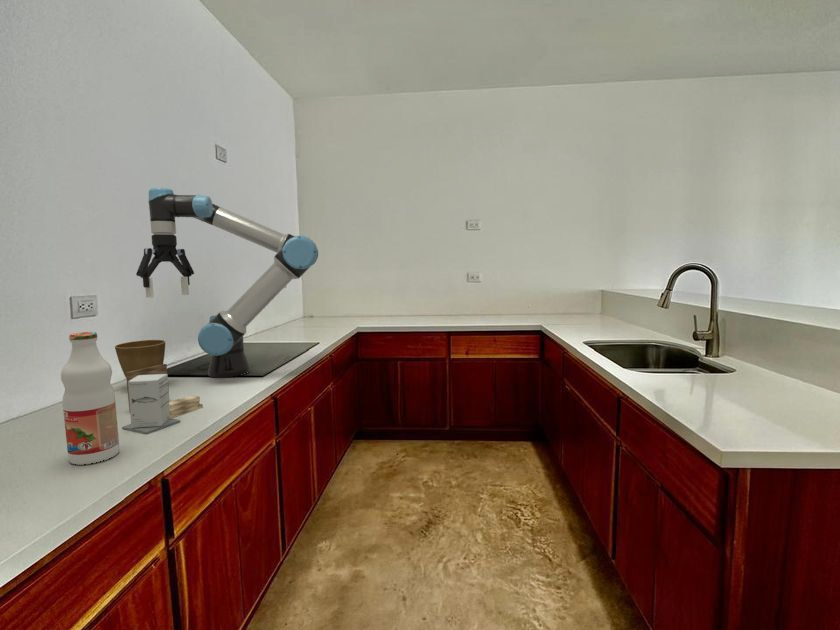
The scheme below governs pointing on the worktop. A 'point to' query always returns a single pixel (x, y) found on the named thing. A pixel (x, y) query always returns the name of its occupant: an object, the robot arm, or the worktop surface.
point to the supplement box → (149, 400)
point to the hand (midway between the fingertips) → (168, 296)
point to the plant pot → (140, 354)
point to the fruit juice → (89, 403)
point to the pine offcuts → (184, 405)
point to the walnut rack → (146, 371)
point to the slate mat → (151, 429)
